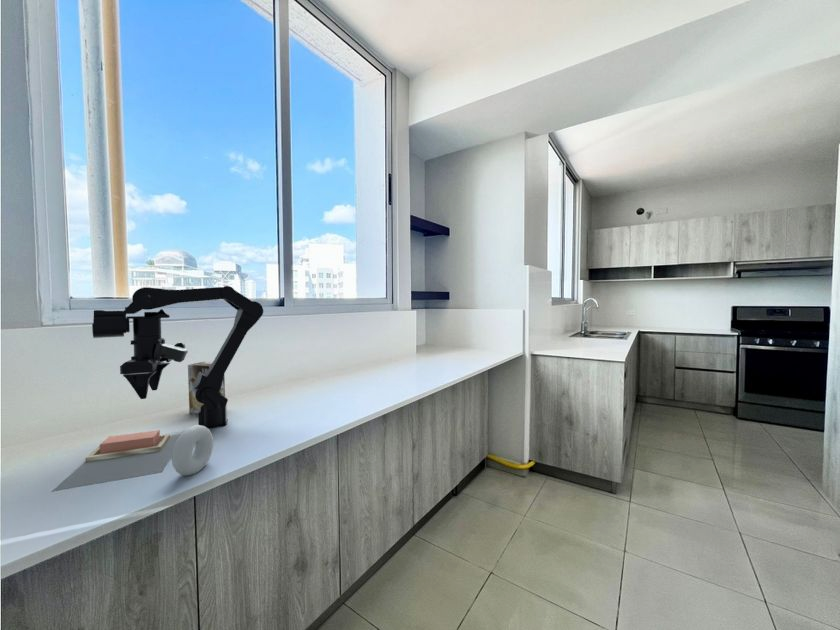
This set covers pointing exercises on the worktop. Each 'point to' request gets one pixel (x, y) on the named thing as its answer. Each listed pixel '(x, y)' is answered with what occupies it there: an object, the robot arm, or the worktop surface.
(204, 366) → the coffee box
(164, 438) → the slot frame
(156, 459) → the mat
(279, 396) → the worktop surface
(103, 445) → the card deck
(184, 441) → the donut
